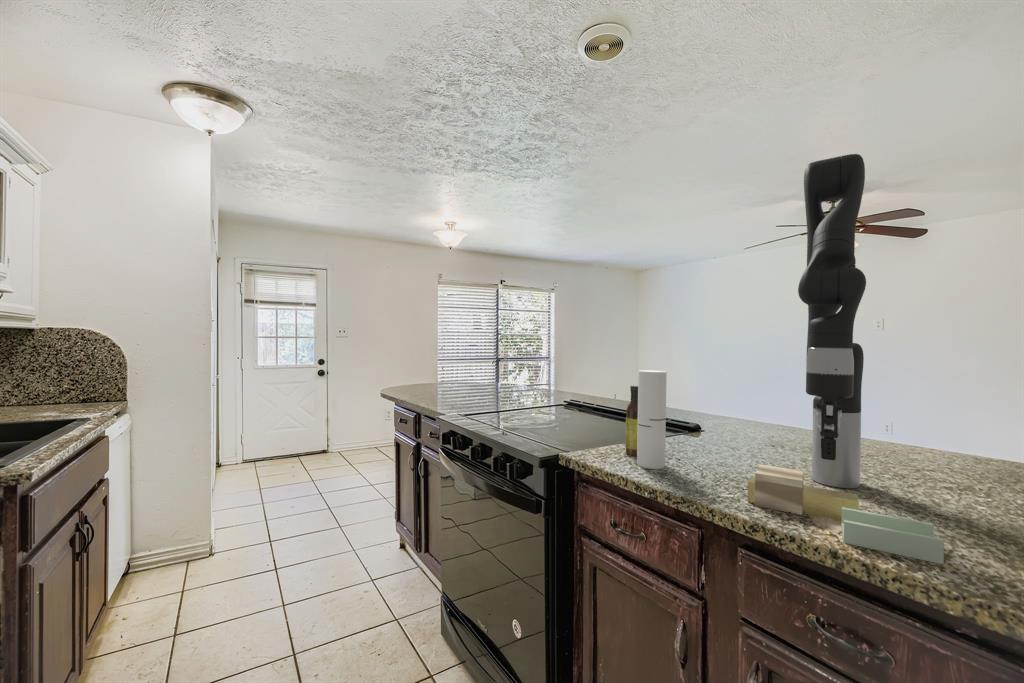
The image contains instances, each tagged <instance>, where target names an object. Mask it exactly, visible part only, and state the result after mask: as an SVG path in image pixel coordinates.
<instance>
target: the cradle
mask: <svg viewBox="0 0 1024 683" xmlns="http://www.w3.org/2000/svg"><path fill="white" fill-rule="evenodd" d="M840 526H841V534H842V539H843V543H844V544H847V545H852V546H858V547H861V548H867V549H871V550H875V551H881V552H885V553H889V554H893V555H898V556H903V557H907V558H911V559H917V560H922V561H926V562H931V563H934V564H940V565H944V562H945V560H944V559H945V556H944V555H945V541H944V539H943V538H939V537H935V536H934V530H935V526H934V524H933V523H932V522H927V521H921V520H916V519H911V518H910V519H909V518H904V517H899V516H895V515H894V516H893V515H887V514H883V513H877V512H872V511H866V510H860V509H858V510H855V509H850V508H844V507H842V521H841V525H840Z"/></svg>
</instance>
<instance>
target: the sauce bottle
mask: <svg viewBox="0 0 1024 683" xmlns="http://www.w3.org/2000/svg"><path fill="white" fill-rule="evenodd" d="M629 390H630V401H629V403H628V405H627V407H626V412H625V414H626V417H625V435H624V436H625V440H624V441H625V443H624V444H625V445H624V446H625V453H626V454H627V455H629V456H634V457H637V431H638V385H630V389H629Z"/></svg>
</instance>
